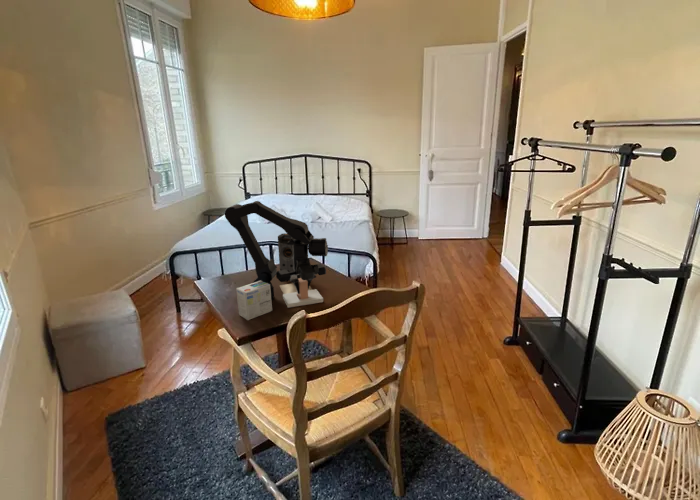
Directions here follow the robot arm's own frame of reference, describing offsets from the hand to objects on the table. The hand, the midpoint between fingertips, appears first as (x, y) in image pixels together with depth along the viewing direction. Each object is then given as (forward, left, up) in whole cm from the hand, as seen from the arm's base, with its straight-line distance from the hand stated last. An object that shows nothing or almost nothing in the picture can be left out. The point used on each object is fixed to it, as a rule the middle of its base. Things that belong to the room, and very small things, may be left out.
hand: (302, 292), depth 151 cm
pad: (0, +12, -3) cm, 12 cm away
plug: (0, 0, -2) cm, 2 cm away
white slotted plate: (0, 0, -3) cm, 3 cm away
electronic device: (+1, +26, -3) cm, 26 cm away
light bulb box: (-19, -5, -3) cm, 20 cm away
